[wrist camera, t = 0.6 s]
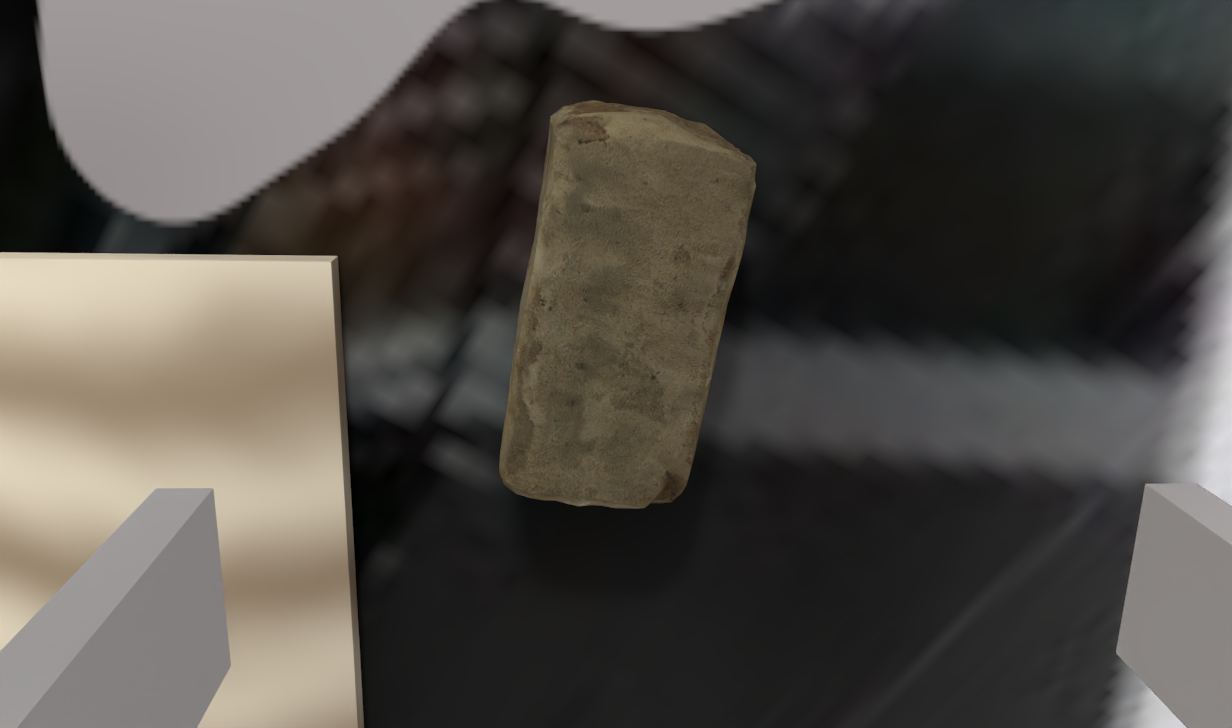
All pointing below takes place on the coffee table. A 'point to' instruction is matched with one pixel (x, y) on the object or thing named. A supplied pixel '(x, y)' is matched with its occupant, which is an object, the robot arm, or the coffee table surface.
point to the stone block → (622, 305)
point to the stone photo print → (190, 451)
